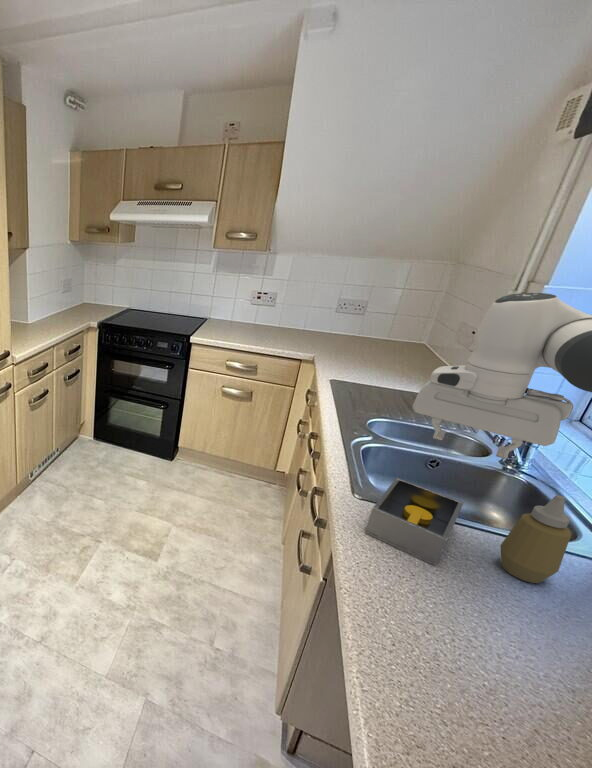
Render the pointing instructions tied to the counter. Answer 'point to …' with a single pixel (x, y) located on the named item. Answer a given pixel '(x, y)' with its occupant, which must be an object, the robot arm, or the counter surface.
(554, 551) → the squeeze bottle
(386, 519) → the grey open box
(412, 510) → the yellow letter t
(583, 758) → the counter surface
